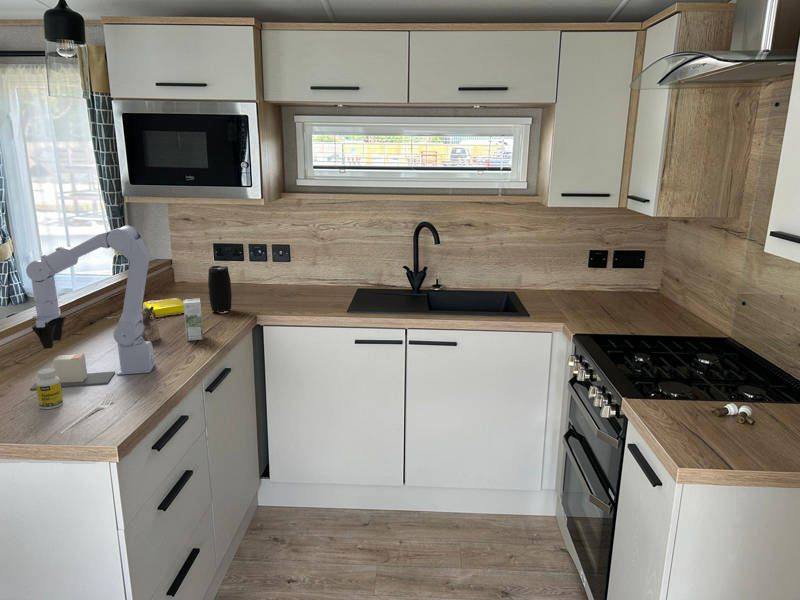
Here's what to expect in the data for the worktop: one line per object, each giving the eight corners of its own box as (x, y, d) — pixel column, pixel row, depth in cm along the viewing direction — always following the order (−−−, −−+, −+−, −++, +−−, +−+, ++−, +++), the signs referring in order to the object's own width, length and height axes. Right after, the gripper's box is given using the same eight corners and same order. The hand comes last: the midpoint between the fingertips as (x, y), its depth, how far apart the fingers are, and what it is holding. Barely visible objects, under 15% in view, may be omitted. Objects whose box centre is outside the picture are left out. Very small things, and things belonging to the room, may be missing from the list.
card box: (62, 377, 167) (58, 354, 166) (87, 376, 168) (84, 353, 167) (56, 382, 164) (52, 359, 162) (82, 381, 165) (79, 358, 163)
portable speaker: (236, 310, 245) (233, 265, 241) (222, 315, 237) (219, 269, 232) (220, 308, 248) (217, 264, 244) (206, 313, 240) (202, 268, 235)
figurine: (136, 338, 206) (132, 307, 203) (156, 335, 210) (153, 303, 207) (142, 343, 200) (138, 311, 198) (162, 339, 205) (159, 307, 202)
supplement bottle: (40, 411, 146) (34, 376, 144) (38, 404, 150) (33, 369, 148) (64, 406, 149) (59, 371, 147) (62, 399, 153) (57, 365, 151)
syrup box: (203, 335, 210) (199, 297, 206) (203, 340, 204) (200, 301, 201) (186, 337, 208) (183, 298, 204) (186, 342, 202) (183, 302, 199)
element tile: (151, 319, 232) (150, 308, 231) (142, 311, 244) (141, 301, 243) (188, 314, 241) (187, 303, 240) (178, 306, 253) (177, 296, 252)
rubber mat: (115, 372, 173) (115, 371, 173) (107, 383, 164) (107, 382, 164) (42, 378, 168) (41, 376, 168) (30, 390, 160) (30, 388, 160)
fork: (54, 436, 135) (53, 429, 134) (106, 400, 154) (106, 393, 153) (67, 437, 134) (65, 430, 134) (118, 400, 153) (117, 394, 153)
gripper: (40, 295, 173) (46, 337, 176) (21, 306, 159) (28, 352, 162) (65, 294, 174) (71, 336, 177) (49, 305, 161) (55, 350, 164)
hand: (52, 344), depth 170 cm, fingers open, 7 cm apart
